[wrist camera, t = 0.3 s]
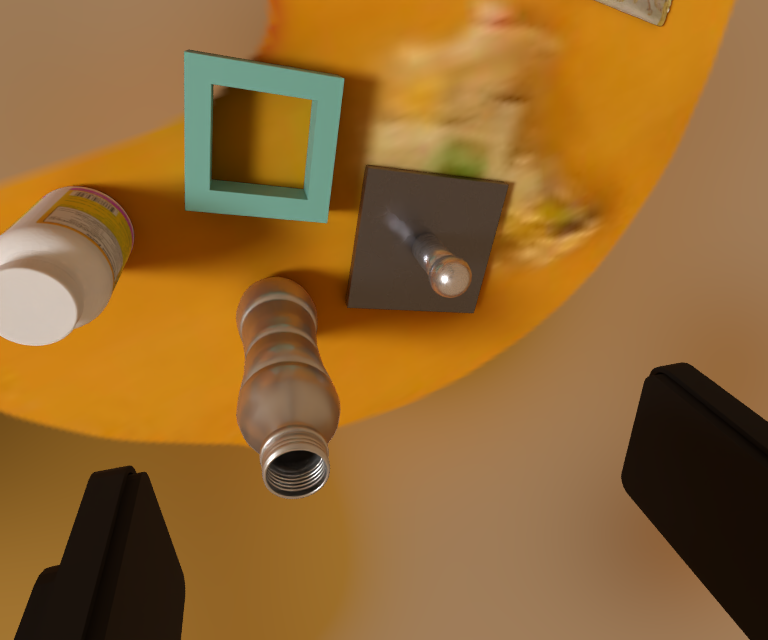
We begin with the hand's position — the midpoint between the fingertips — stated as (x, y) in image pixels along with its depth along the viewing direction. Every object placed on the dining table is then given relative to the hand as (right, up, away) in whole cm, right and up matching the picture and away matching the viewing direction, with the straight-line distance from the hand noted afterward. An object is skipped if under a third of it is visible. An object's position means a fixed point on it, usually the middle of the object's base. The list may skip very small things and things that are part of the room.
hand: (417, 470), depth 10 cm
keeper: (+3, +9, +36) cm, 37 cm away
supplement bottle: (-22, +10, +29) cm, 38 cm away
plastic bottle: (-10, +4, +35) cm, 37 cm away
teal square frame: (-10, +16, +29) cm, 34 cm away
